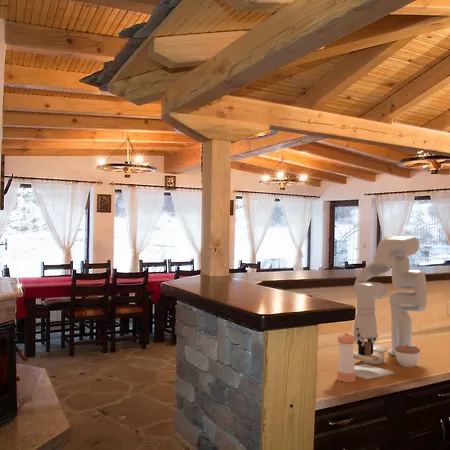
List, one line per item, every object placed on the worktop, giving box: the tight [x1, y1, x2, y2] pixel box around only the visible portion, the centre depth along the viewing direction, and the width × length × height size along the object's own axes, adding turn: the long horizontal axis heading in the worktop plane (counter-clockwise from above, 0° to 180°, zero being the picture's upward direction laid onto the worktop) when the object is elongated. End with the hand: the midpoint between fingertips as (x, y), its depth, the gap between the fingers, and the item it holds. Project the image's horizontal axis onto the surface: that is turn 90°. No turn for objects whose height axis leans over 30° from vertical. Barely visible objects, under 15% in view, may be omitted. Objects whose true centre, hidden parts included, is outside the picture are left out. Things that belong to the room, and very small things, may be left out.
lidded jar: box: [394, 345, 421, 368], centre depth 223 cm, size 11×11×9 cm
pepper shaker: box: [336, 332, 356, 383], centre depth 200 cm, size 7×7×19 cm
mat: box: [354, 363, 395, 380], centre depth 212 cm, size 17×16×1 cm
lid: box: [353, 340, 383, 361], centre depth 212 cm, size 14×14×6 cm
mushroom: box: [360, 344, 387, 366], centre depth 228 cm, size 13×13×7 cm
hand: (365, 353), depth 212 cm, fingers closed on lid, 4 cm apart
